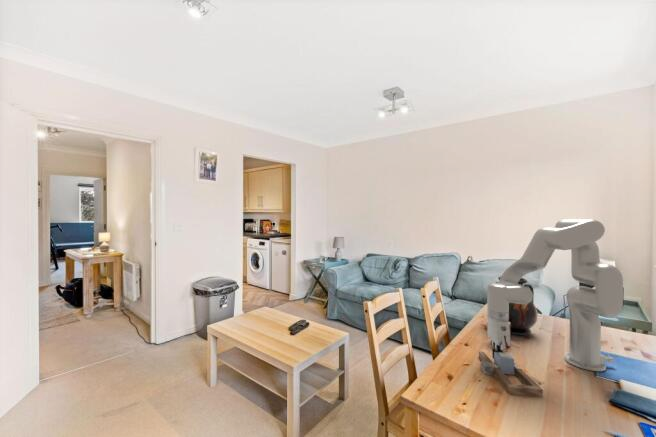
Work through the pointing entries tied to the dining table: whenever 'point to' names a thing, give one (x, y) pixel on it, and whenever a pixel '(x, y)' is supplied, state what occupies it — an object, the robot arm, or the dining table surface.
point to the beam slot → (492, 369)
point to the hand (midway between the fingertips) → (497, 359)
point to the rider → (504, 362)
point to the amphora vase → (522, 315)
